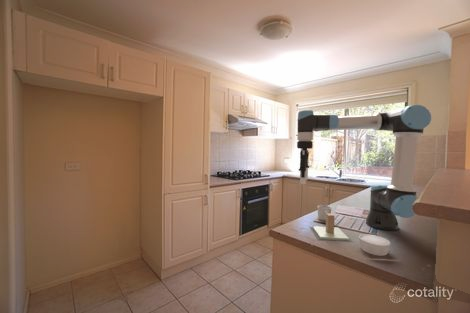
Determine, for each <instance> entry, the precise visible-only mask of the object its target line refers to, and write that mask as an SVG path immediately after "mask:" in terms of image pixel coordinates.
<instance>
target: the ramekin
mask: <svg viewBox="0 0 470 313" xmlns="http://www.w3.org/2000/svg"><path fill="white" fill-rule="evenodd" d="M358 240H359V245H360V249H361V250H362V251H364V252H365V253H367V254H371V255H372V256H380V257H381V256H382V257H383V256H387V254H388V253H389V250H390V247H391V242H390V241H389V240H388V239H387V238H384V237H382V236H380V235H375V234H368V233H363V234H360V235H359V236H358Z"/></svg>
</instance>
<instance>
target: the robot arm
mask: <svg viewBox="0 0 470 313" xmlns="http://www.w3.org/2000/svg"><path fill="white" fill-rule="evenodd" d="M297 113H298V114H297V120H296V121H297V134H296V135H295V136H296V137H297V142H296V148H297V149H301V150H300V156H299V157H300V160H299V161H300V163H299V168H298V171H299V184H300V185H306V184H307V181H308V180H309V178H308V177H309V174H308V173H309V169H310V165H309V155H310V152H309V149H313V146H314V145H313V143H314V142H313V138H314V132H322V131H323V132H327V131H347V130H351V131H352V130H369V129H370V130H374V131H387V132H392V135H393V136H394V137H395V141H394V142H395V143H394V153H393V162H392V171H391V182H390V184H389V185H386V184H385V185H384V184H383V185H382V184H373V185H372V186H371V187H370V190H369V191H370V201H369V212H368V214H367V216H366V218H365V224H366V225H368V226H370V227H372V228H375V229H379V230H383V231H397V230H399V222H398V219H397V217H400V218H403V219H408V218H409V219H410V218H413V217H414V216H416V215H417V214H414V212H413V211H412V204H413V203H414V201H415V200H416V199H417V198H418V197H417V189H416V188H415V187H414V178H415V173H416V172H415V169H416V163H417V161H416V160H417V154H418V153H417V152H418V145H419V144H418V143H419V138H420V137H421V136H422V135H424V129H425V128H427V127H428V126H429V125H430V124H431V123H432V122H431V121H432V115H431V112H430V109H428V108H427V107H425V106H424V105H421V104H411V105H410V104H409V105H406V106H403V107H399V108H394V109H391V110H388V111H384V112H375V113H374V114H366V115H364V114H363V115H347V116H346V115H345V116H338V114H336V113H335V114H334V113H325V114H322V113H321V114H317V113H316V114H315V113H314V111H313V110H312V109H302V110H299V111H298V112H297ZM396 216H397V217H396Z"/></svg>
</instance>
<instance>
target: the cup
mask: <svg viewBox="0 0 470 313" xmlns="http://www.w3.org/2000/svg"><path fill="white" fill-rule="evenodd" d="M316 208H317V218H318V219H319V220H320V221H324V222H326V213H329V214H332V211H333V210H332V206H329V205H325V204H319V205H317V207H316Z"/></svg>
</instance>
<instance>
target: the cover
mask: <svg viewBox="0 0 470 313" xmlns="http://www.w3.org/2000/svg"><path fill="white" fill-rule="evenodd" d="M335 216H336V215H335V214H334V213H331V214H329V213H326V221H325V226H315V225H314V226H312V227H313V229H314V231H315V232H316V234H317V235H318V237H319V238H320V239H330V240H349V238H350V237H349V236H348V235H347V234H346V233H345V232H344V231H343V230H342V229H341V228H340V229H341V230H342V231H343V232H344V233H345V234H346V235H347V236H348V237H349V238H348V237H347V236H346V235H345V234H344V233H343V232H342V231H341V230H340V229H339V227H336V226H335Z"/></svg>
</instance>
